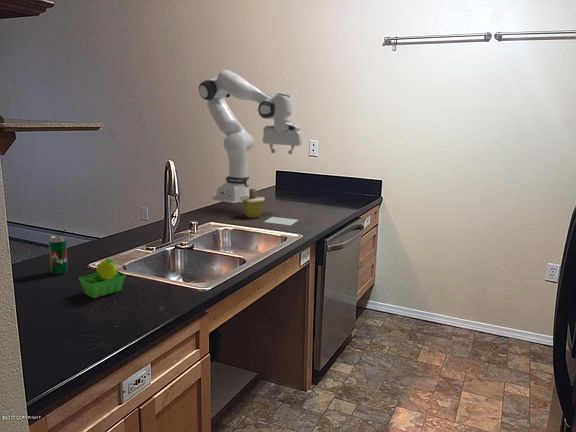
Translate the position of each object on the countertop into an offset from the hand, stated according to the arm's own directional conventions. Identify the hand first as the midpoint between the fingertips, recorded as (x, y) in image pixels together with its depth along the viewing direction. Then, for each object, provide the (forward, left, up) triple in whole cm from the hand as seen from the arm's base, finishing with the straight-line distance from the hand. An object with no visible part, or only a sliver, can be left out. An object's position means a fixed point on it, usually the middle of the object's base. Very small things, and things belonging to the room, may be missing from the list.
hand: (281, 153), depth 252 cm
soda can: (-34, -119, -31) cm, 128 cm away
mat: (+8, -20, -31) cm, 38 cm away
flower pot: (-8, -18, -31) cm, 37 cm away
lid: (-8, -18, -22) cm, 30 cm away
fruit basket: (-10, -127, -31) cm, 131 cm away
